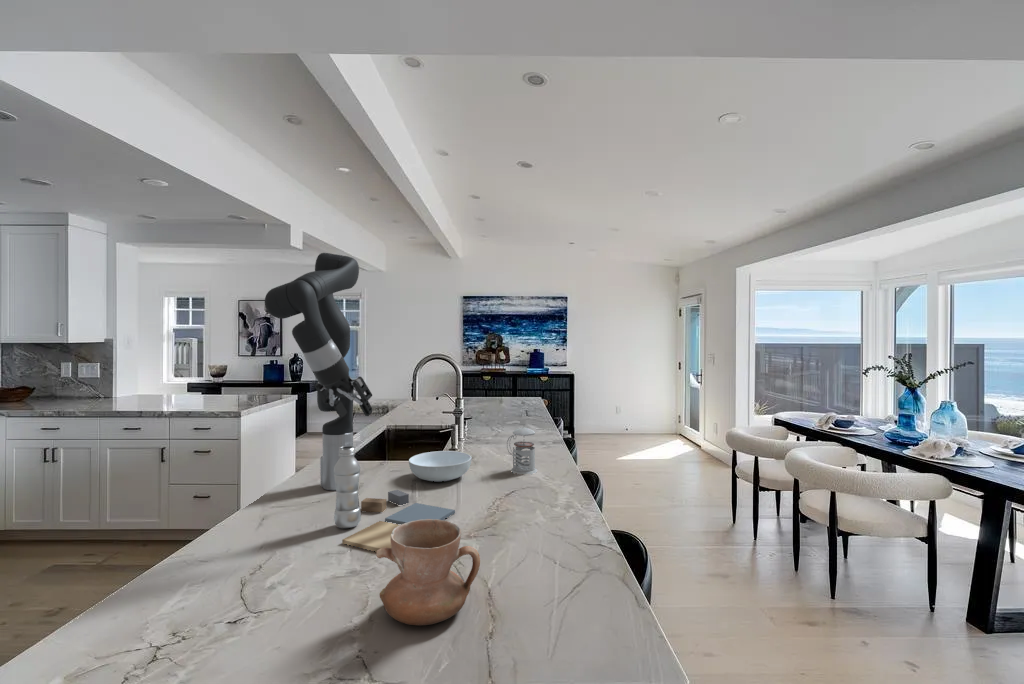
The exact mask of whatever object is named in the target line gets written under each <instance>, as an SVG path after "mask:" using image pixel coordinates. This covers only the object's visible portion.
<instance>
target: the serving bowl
mask: <svg viewBox="0 0 1024 684" xmlns="http://www.w3.org/2000/svg"><path fill="white" fill-rule="evenodd" d="M471 464H472V456H471V455H470V454H468V453H467V452H464V451H463V452H461V451H456V450H438V451H430V452H429V451H428V452H422V453H419V454H415V455H413V456H411V457H410V458H409V459H408V465H409V469H410V471H411V472H412V474H413V475H414V476H416V477H417V478H418V479H420V480H424V481H427V482H428V481H429V482H433V481H434V482H435V483H442V481H444V482H449V481H452V480H455V479H458V478H460V477H462V476H463V475H465V474H466V473H467V472H468V470H469V469H470V467H471Z"/></svg>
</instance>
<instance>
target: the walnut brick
mask: <svg viewBox="0 0 1024 684" xmlns="http://www.w3.org/2000/svg"><path fill="white" fill-rule="evenodd" d="M360 501H361V502H360V510H361V511H366V512H365V513H373V512H383V511H384V510H385V509H386V510H387V498H376V497H375V498H373V497H366V498H364V499H363V500H360ZM386 510H385V511H386ZM385 511H384V512H385ZM384 512H383V513H384Z"/></svg>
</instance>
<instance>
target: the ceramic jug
mask: <svg viewBox="0 0 1024 684" xmlns="http://www.w3.org/2000/svg"><path fill="white" fill-rule="evenodd" d="M461 537H462V529H461V528H460V526H458V525H457V524H456V523H454V522H451V521H448V520H438V519H422V520H416V521H411V522H407V523H404V524H401V525H399V526H397V527H396V528H395V529H394V530H393V531H392V534H391V547H392V548H381V549H379V550H377V552H376V555H375V556H376V557H377V559H382V558H383V559H384V558H386V559H388V560H389V561H391V562H393V563H395V564H397V567H398V570H399V571H400V572H399V573H398V574H396V575H395V576H393V578H392V579H391V580H390V581H388V583H387V584H386V586H385V587H384V588H382V590H380V592H379V598H380V600H381V602H382V604H383V608H384V609H385V611H386V613H387V614H388V615H389V616H390V617H391V618H392V619H394V620H395V621H398V622H399V623H401V624H405V625H410V626H428V625H434V624H435V625H436V624H438V623H440V622H444V621H446V620H448V619H450V618H451V617H453V616H455V615H456V614H457V613H458V612H460V610H461V609H462V608H463V607H464V605H465V603H466V600H467V597H468V596H469V593H470V591H471V586H472V584H473V582H474V581H475V579H476V577H477V575H478V573H479V570H480V566H481V557H480V553H479V552H478V550H477V549H476V547H472V546H469V545H465V546H462V547H460V544H461V543H460V542H461V539H462V538H461ZM465 555H469V556H470V557H471V559H472V561H471V562H472V566H471V569H470V571H469V574H468V577H467V578H466V581H464V580H463V579H462V577H460V575H458V574H457V573H456V572H454V571H453V570H451V568H452V565H453V564H454V563H455V561H457V560H458V559H459V558H461V557H463V556H465Z"/></svg>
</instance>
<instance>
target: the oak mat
mask: <svg viewBox="0 0 1024 684" xmlns="http://www.w3.org/2000/svg"><path fill="white" fill-rule="evenodd" d="M397 526H399V525H398V524H393V523H388V522H385V521H383V520H382V521H381V520H379V521H377V522H374V523H372V524H371V525H368V526H367V527H365V528H363V529H360V530H359V531H357V532H355V533H353V534H350V535H349V536H347V537H345V538H343V539H342V540H341V544H342V545H344V544H347V545H346V546H349V545H351V546H350V547H353V546H356V547H355V548H357V547H360V548H359V549H361V548H363V549H362V550H365V549H367V550H366V551H369V550H371V552H374V551H375V552H374V553H377V550H379V549H381V548H392V547H391V534H392V531H393V530H394V529H395V528H396V527H397Z"/></svg>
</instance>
